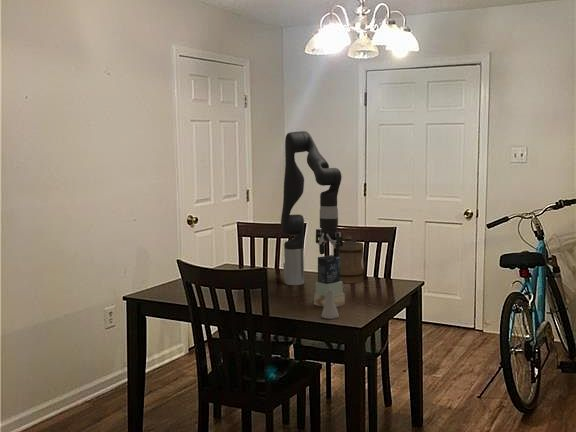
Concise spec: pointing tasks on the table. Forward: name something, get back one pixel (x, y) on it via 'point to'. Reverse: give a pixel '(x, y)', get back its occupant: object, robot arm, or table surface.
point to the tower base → (321, 300)
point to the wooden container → (351, 261)
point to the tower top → (329, 288)
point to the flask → (330, 307)
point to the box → (328, 269)
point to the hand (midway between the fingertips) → (329, 255)
